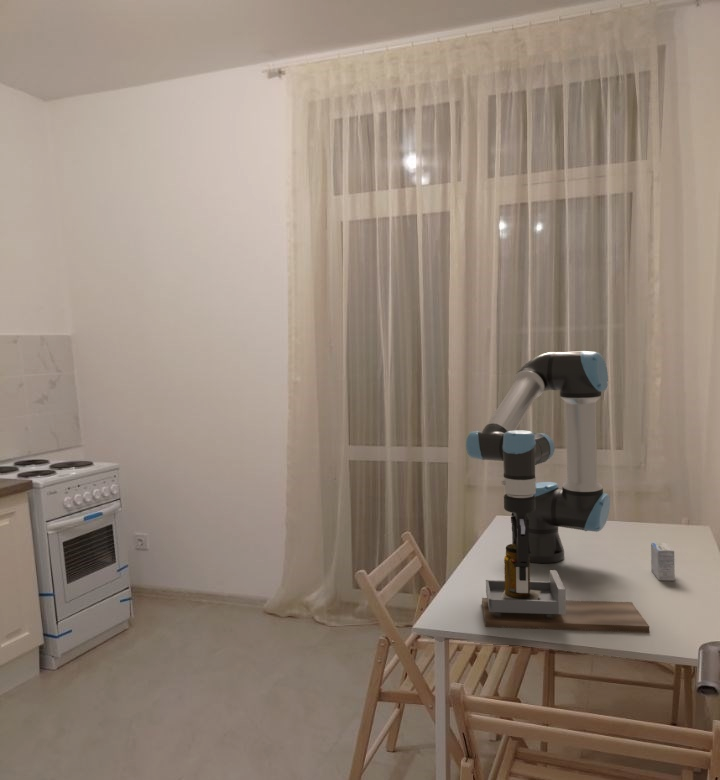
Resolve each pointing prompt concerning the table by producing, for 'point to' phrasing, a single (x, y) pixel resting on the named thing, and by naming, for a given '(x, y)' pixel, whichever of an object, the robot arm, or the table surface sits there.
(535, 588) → the cart
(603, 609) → the rail board
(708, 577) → the table surface
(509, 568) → the condiment
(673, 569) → the medicine box
